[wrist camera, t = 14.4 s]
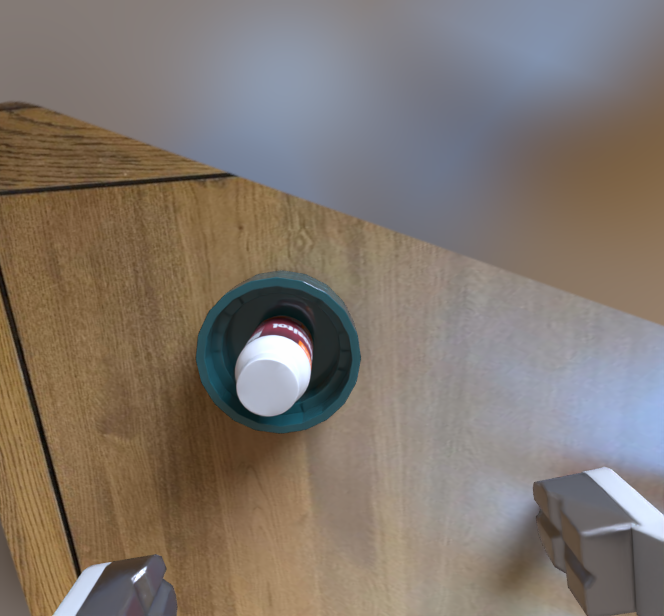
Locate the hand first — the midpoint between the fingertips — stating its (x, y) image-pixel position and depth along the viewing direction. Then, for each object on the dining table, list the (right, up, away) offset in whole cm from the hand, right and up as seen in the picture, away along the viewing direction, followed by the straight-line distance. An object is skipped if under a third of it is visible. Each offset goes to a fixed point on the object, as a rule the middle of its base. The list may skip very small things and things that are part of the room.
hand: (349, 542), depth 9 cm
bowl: (-5, +2, +33) cm, 34 cm away
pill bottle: (-5, +2, +33) cm, 33 cm away
